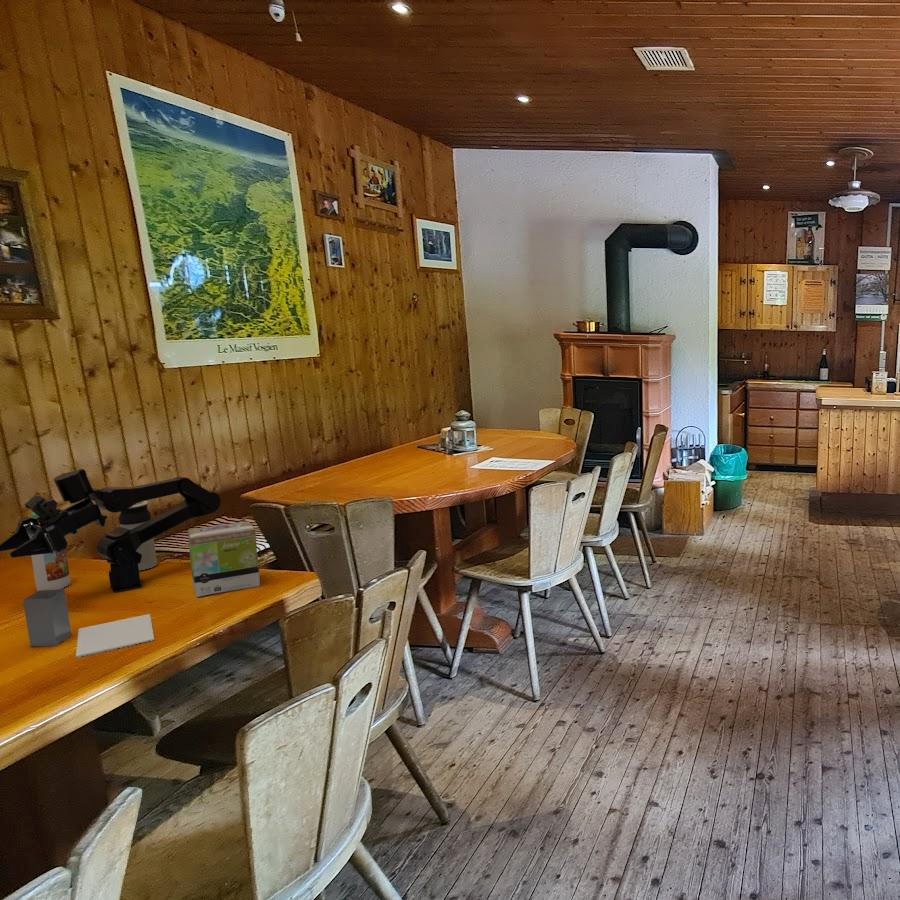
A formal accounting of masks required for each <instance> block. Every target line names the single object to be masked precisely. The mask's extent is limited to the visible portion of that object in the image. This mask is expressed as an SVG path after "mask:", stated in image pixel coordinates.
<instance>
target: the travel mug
mask: <svg viewBox="0 0 900 900" xmlns="http://www.w3.org/2000/svg"><path fill="white" fill-rule="evenodd" d="M148 504H149V502H148V500H146V501H141V502H139V503H137V504H135V505H133V506H132V507H130V508H127V509H125V510H123V511H120V512H119V513H120V514H119V516H118V523H119V527H122V528H126V529H130V530H131V529H133V528H135V527H137V526H139V525H141V524H143V523H145V522H147V521H149V520H151V519H152V515H151V512H150V511H149V509H148ZM136 551H137V552H138V553H140V554H141V555H142V558H141V563H139V564H138V567H139V570H144V571H146V570H145V569H148V568H151V569H153V568H152V566H155V567H156V566H157V565H158V561H157V560H158V559H157V551H156V544H155V537H154V538H152V539H150V540H148V541H146V542H144V543H143V544H141V546H140V547H139V548H138V549H137V550H136ZM148 570H149V569H148Z"/></svg>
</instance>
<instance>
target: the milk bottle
mask: <svg viewBox="0 0 900 900" xmlns="http://www.w3.org/2000/svg"><path fill="white" fill-rule="evenodd" d="M38 517H39V516H38V515H36V514H35V513H34V512H32V514H31V518H35V519H37V518H38ZM39 524H40V523H39ZM66 549H67V548H66ZM66 549H65V550H63V551H61V552H59V553H56V552H53V553H52V554H51V553H48V554H38V555H30V556H31V562H32V563H31V564H32V569H33V570H32V571H33V576H34V583H35V588H36V590H37V592H38V591H42V590H58V589H65V588H67V587H69V586H70V585H71V576H70V575H71V574H70V570H69V565H68V564H69V563H68V557H67V551H66ZM68 585H69V586H68ZM66 586H67V587H66ZM64 587H65V588H64Z"/></svg>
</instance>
